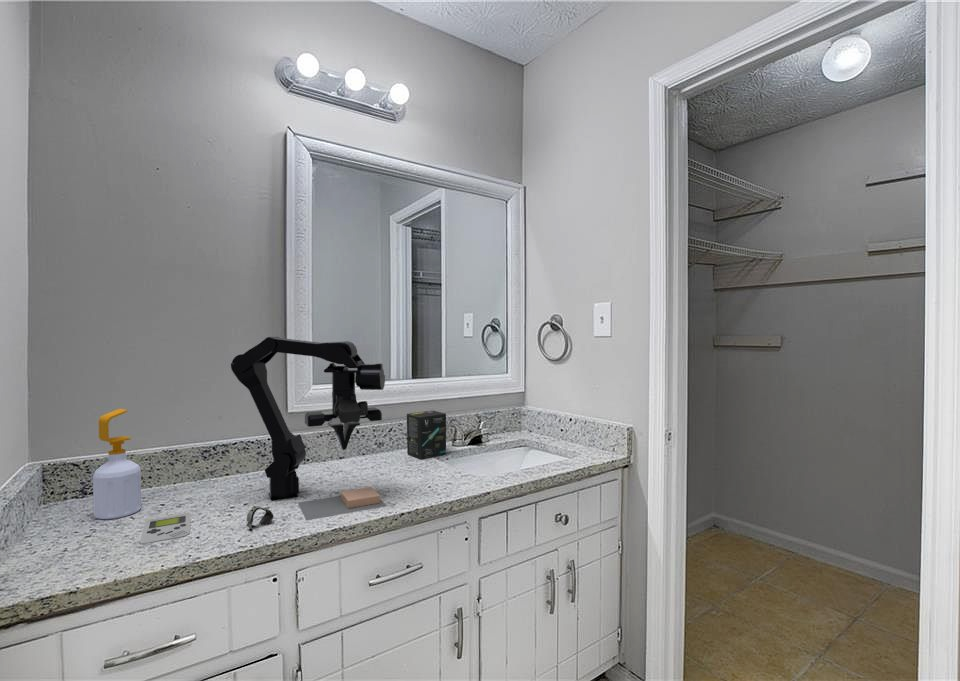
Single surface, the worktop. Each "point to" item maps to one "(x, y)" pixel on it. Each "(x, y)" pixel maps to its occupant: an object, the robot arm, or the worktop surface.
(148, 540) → the handheld gaming device
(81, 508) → the worktop surface
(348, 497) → the tile
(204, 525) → the worktop surface
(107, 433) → the soap bottle
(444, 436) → the tampon box
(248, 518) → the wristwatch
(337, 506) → the mat
